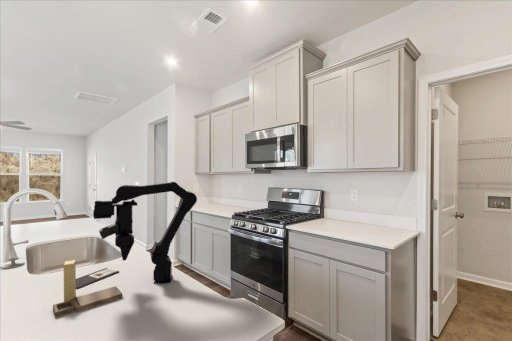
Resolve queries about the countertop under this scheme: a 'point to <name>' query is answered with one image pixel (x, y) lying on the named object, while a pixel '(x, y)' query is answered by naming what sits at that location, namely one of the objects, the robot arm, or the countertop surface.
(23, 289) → the countertop surface
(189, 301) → the countertop surface
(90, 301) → the brown buckle strap
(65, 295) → the stub
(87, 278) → the chocolate bar
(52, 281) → the countertop surface
